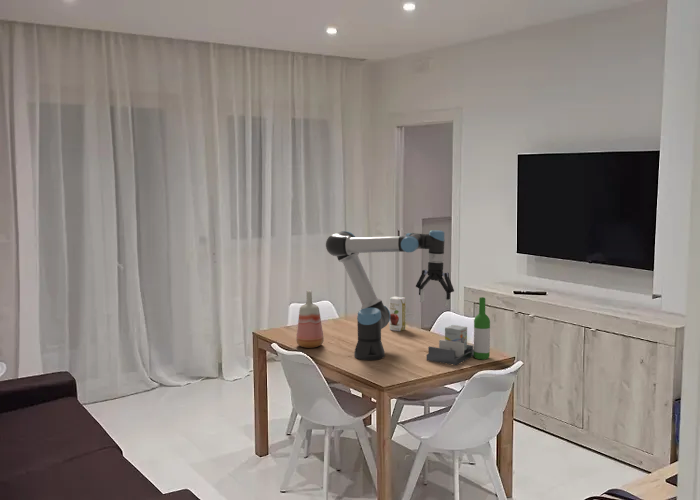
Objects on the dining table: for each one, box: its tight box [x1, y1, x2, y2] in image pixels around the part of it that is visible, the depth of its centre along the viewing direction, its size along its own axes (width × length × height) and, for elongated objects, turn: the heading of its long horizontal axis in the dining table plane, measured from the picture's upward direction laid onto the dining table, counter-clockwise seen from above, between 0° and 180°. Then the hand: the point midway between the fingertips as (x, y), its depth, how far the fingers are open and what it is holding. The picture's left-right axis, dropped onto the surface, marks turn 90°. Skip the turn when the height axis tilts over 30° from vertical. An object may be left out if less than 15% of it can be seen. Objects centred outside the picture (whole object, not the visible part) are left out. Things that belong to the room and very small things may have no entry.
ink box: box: [444, 324, 468, 351], centre depth 330 cm, size 9×9×12 cm
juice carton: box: [388, 295, 407, 332], centre depth 384 cm, size 8×9×19 cm
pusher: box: [438, 339, 464, 357], centre depth 325 cm, size 13×6×7 cm, turn 55°
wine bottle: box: [473, 296, 491, 361], centre depth 324 cm, size 8×8×30 cm
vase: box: [295, 290, 325, 349], centre depth 349 cm, size 14×14×30 cm
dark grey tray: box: [426, 344, 474, 366], centre depth 326 cm, size 16×21×7 cm
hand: (433, 303), depth 331 cm, fingers open, 13 cm apart
